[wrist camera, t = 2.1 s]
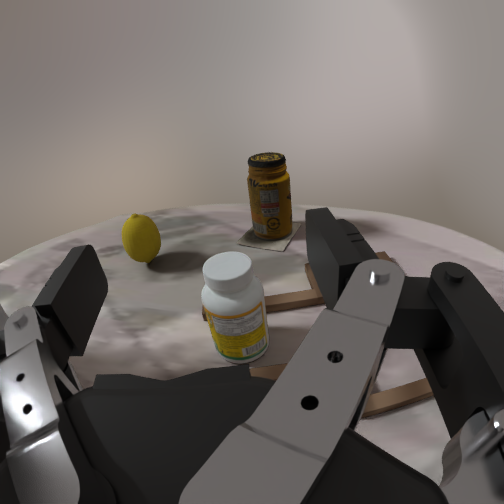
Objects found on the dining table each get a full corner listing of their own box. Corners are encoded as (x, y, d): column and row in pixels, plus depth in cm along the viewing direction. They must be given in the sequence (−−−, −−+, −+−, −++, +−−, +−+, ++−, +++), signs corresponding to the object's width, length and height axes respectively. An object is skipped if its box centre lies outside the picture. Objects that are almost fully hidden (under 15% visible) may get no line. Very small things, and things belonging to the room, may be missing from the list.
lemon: (155, 248, 48) (141, 202, 44) (173, 259, 45) (159, 210, 41) (125, 264, 45) (109, 218, 41) (141, 278, 42) (124, 227, 37)
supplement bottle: (262, 369, 27) (250, 288, 22) (208, 360, 29) (182, 283, 24) (274, 327, 32) (266, 247, 26) (225, 322, 33) (207, 245, 28)
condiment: (301, 224, 50) (297, 150, 43) (282, 252, 43) (275, 168, 37) (259, 219, 53) (251, 149, 46) (236, 245, 46) (223, 167, 40)
